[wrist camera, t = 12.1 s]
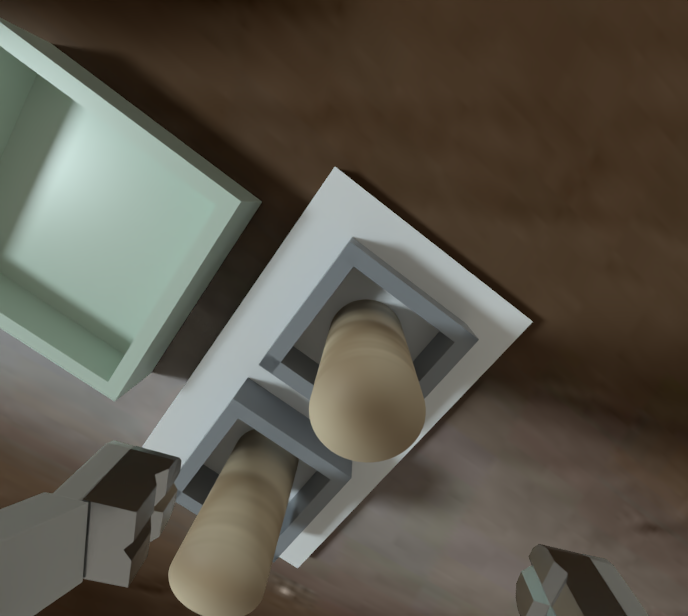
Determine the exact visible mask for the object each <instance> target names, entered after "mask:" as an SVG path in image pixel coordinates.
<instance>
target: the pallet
mask: <svg viewBox="0 0 688 616" xmlns="http://www.w3.org/2000/svg"><path fill="white" fill-rule="evenodd" d="M365 299H368V300H375V301H378V302H381V303H383V304H385V305H386V306H388V307H389V308H390V309H392V310H393V311H394V313H395V314H396V315H397V317H398V318H399V321H400V323H401V326H402V329H403V333H404V336H405V339H406V342H407V345H408V349H409V352H410V355H411V358H412V361H413V365H414V368H415V371H416V374H417V377H418V381H419V384H420V387H421V390H422V394H423V397H424V400H425V406H426V416H425V422H424V425H423V429H422V431H421V433H420V435H419V436H418V438H417V439H416V441H415V442H414V443H413V444H412V445H411V446H410V447H409V448H408V449H407V450H405V451H404V452H402V453H401V454H399V455H397V456H395V457H393V458H391V459H388V460H384V461H380V462H367V463H365V462H357V461H352V460H349V459H346V458H343V457H341V456H339V455H337V454H335V453H334V452H332V451H331V450H329V449H328V448H327V447H326V446H325V445H324V444H323V443H322V442H321V441H320V440H319V438H318V437H317V436H316V434H315V432H314V430H313V428H312V425H311V422H310V417H309V402H310V398H311V394H312V390H313V387H314V383H315V379H316V376H317V372H318V368H319V365H320V361H321V358H322V354H323V350H324V347H325V343H326V339H327V336H328V332H329V329H330V325H331V322H332V320H333V318H334V316H335V315H336V313H337V312H338V311H339V310H340V309H341V308H342V307H344V306H345V305H347V304H349V303H351V302H353V301H357V300H365ZM532 322H533V321H531V320H530V319H529V318H528V317H526V316H525V315H524V314H522V313H521V312H520V311H519V310H517V309H516V308H515V307H514V306H512V305H511V304H510V303H508V302H507V301H506V300H505V299H503V298H502V297H501V296H500V295H498V294H497V293H496V292H494V291H493V290H492V289H491V288H489V287H488V286H487V285H486V284H484V283H483V282H482V281H480V280H479V279H478V278H477V277H475V276H474V275H473V274H471V273H470V272H469V271H468V270H466V269H465V268H464V267H463V266H461V265H460V264H459V263H457V262H456V261H455V260H454V259H452V258H451V257H450V256H449V255H447V254H446V253H445V252H443V251H442V250H441V249H440V248H438V247H437V246H436V245H435V244H433V243H432V242H431V241H429V240H428V239H427V238H426V237H424V236H423V235H422V234H420V233H419V232H418V231H417V230H415V229H414V228H413V227H412V226H410V225H409V224H408V223H406V222H405V221H404V220H403V219H401V218H400V217H399V216H398V215H396V214H395V213H394V212H392V211H391V210H390V209H389V208H387V207H386V206H385V205H384V204H382V203H381V202H380V201H378V200H377V199H376V198H375V197H373V196H372V195H371V194H369V193H368V192H367V191H366V190H364V189H363V188H362V187H361V186H359V185H358V184H357V183H355V182H354V181H353V180H352V179H350V178H349V177H348V176H347V175H345V174H344V173H343V172H341V171H340V170H339V169H338V168H336V167H334V169H333V170H332V172H331V173H330V175H329V176H328V177H327V179H326V180H325V182H324V183H323V185H322V186H321V188H320V189H319V191H318V192H317V193H316V195H315V196H314V198H313V199H312V201H311V202H310V204H309V205H308V207H307V208H306V209H305V211H304V212H303V214H302V215H301V217H300V218H299V220H298V221H297V223H296V224H295V225H294V227H293V228H292V230H291V231H290V233H289V234H288V236H287V237H286V239H285V240H284V241H283V243H282V244H281V246H280V247H279V249H278V250H277V252H276V253H275V255H274V256H273V257H272V259H271V260H270V262H269V263H268V265H267V266H266V268H265V269H264V270H263V272H262V273H261V275H260V276H259V278H258V279H257V281H256V282H255V284H254V285H253V286H252V288H251V289H250V291H249V292H248V294H247V295H246V297H245V298H244V300H243V301H242V302H241V304H240V305H239V307H238V308H237V310H236V311H235V313H234V314H233V316H232V317H231V318H230V320H229V321H228V323H227V324H226V326H225V327H224V329H223V330H222V332H221V333H220V334H219V336H218V337H217V339H216V340H215V342H214V343H213V345H212V346H211V348H210V349H209V350H208V352H207V353H206V355H205V356H204V358H203V359H202V361H201V362H200V364H199V365H198V366H197V368H196V369H195V371H194V372H193V374H192V375H191V377H190V378H189V380H188V381H187V382H186V384H185V385H184V387H183V388H182V390H181V391H180V393H179V394H178V396H177V397H176V398H175V400H174V401H173V403H172V404H171V406H170V407H169V409H168V410H167V412H166V413H165V414H164V416H163V417H162V419H161V420H160V422H159V423H158V425H157V426H156V427H155V429H154V430H153V432H152V433H151V435H150V436H149V438H148V439H147V441H146V442H145V443H144V445H143V446H142V448H146V449H149V450H153V451H157V452H161V453H164V454H168V455H172V456H176V457H179V458H180V459H181V460H182V461H181V469H180V474H179V475H178V477H177V478H176V480H175V481H174V484H175V486H176V488H177V489H178V490H177V496H176V501H175V502H177V503H179V504H180V505H182V506H183V507H185V508H187V509H188V510H190V511H191V512H193V513H195V514H196V515H198V513H199V511H200V510H201V508H202V506H203V504H204V502H205V500H206V499H207V497H208V495H209V493H210V491H211V489H212V487H213V486H214V484H215V482H216V480H217V478H218V476H219V475H220V473H221V471H222V469H223V467H224V465H225V464H226V462H227V460H228V458H229V456H230V454H231V453H232V451H233V449H234V447H235V445H236V443H237V442H238V440H239V439H240V438H241V436H243V435H244V434H245V433H247V432H248V431H251V430H254V429H255V430H257V431H258V432H260V433H261V434H263V435H264V436H266V437H267V438H269V439H270V440H272V441H273V442H275V443H276V444H278V445H279V446H281V447H282V448H284V449H285V450H287V451H288V452H290V453H291V454H293V455H294V456H296V457H297V458H299V462H298V467H297V471H296V474H295V478H294V482H293V486H292V489H291V493H290V497H289V501H288V505H287V508H286V512H285V516H284V520H283V523H282V527H281V531H280V535H279V539H278V542H277V546H276V550H275V554H274V558H273V561H272V562H275V561H276V559H277V558H278V557H280V558H282V559H284V560H285V561H287V562H288V563H290V564H292V565H293V566H295V567H296V568H298V567H299V566H300V565H301V564H302V563H303V562H304V561H305V560H306V559H307V558H308V557H309V556H310V555H311V554H312V553H313V552H314V551H315V549H316V548H317V547H318V546H319V545H320V544H321V543H322V542H323V541H324V540H325V539H326V538H327V537H328V536H329V535H330V534H331V533H332V532H333V531H334V530H335V529H336V527H337V526H338V525H339V524H340V523H341V522H342V521H343V520H344V519H345V518H346V517H347V516H348V515H349V514H350V513H351V512H352V511H353V510H354V509H355V508H356V507H357V505H358V504H359V503H360V502H361V501H362V500H363V499H364V498H365V497H366V496H367V495H368V494H369V493H370V492H371V491H372V490H373V489H374V488H375V487H376V486H377V485H378V483H379V482H380V481H381V480H382V479H383V478H384V477H385V476H386V475H387V474H388V473H389V472H390V471H391V470H392V469H393V468H394V467H395V466H396V465H397V464H398V463H399V461H400V460H401V459H402V458H403V457H404V456H405V455H406V454H407V453H408V452H409V451H410V450H411V449H412V448H413V447H414V446H415V445H416V444H417V443H418V442H419V441H420V439H421V438H422V437H423V436H424V435H425V434H426V433H427V432H428V431H429V430H430V429H431V428H432V427H433V426H434V425H435V424H436V423H437V422H438V421H439V420H440V419H441V417H442V416H443V415H444V414H445V413H446V412H447V411H448V410H449V409H450V408H451V407H452V406H453V405H454V404H455V403H456V402H457V401H458V400H459V399H460V398H461V397H462V395H463V394H464V393H465V392H466V391H467V390H468V389H469V388H470V387H471V386H472V385H473V384H474V383H475V382H476V381H477V380H478V379H479V378H480V377H481V376H482V375H483V373H484V372H485V371H486V370H487V369H488V368H489V367H490V366H491V365H492V364H493V363H494V362H495V361H496V360H497V359H498V358H499V357H500V356H501V355H502V354H503V352H504V351H505V350H506V349H507V348H508V347H509V346H510V345H511V344H512V343H513V342H514V341H515V340H516V339H517V338H518V337H519V336H520V335H521V334H522V333H523V332H524V330H525V329H526V328H527V327H528V326H529V325H530V324H531V323H532Z"/></svg>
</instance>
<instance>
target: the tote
mask: <svg viewBox="0 0 688 616" xmlns="http://www.w3.org/2000/svg"><path fill="white" fill-rule="evenodd" d="M261 203H262V201H260V200H259V199H258V198H256V197H255V196H254V195H252V194H251V193H250V192H248V191H247V190H246V189H244V188H243V187H242V186H240V185H239V184H238V183H237V182H235V181H234V180H233V179H231V178H230V177H229V176H227V175H226V174H225V173H223V172H222V171H221V170H219V169H218V168H217V167H215V166H214V165H213V164H211V163H210V162H209V161H207V160H206V159H205V158H203V157H202V156H201V155H199V154H198V153H197V152H195V151H194V150H193V149H191V148H190V147H189V146H187V145H186V144H185V143H183V142H182V141H181V140H179V139H178V138H177V137H175V136H174V135H173V134H171V133H170V132H169V131H167V130H166V129H165V128H163V127H162V126H161V125H159V124H158V123H157V122H155V121H154V120H153V119H151V118H150V117H149V116H147V115H146V114H145V113H143V112H142V111H141V110H139V109H138V108H137V107H135V106H134V105H133V104H131V103H130V102H129V101H127V100H126V99H125V98H123V97H122V96H121V95H119V94H118V93H117V92H115V91H114V90H113V89H111V88H110V87H109V86H107V85H106V84H105V83H103V82H102V81H101V80H99V79H98V78H97V77H95V76H94V75H93V74H91V73H90V72H89V71H87V70H86V69H85V68H83V67H82V66H81V65H79V64H78V63H77V62H75V61H74V60H73V59H71V58H70V57H69V56H67V55H66V54H65V53H63V52H62V51H61V50H59V49H58V48H57V47H55V46H54V45H53V44H51V43H49V42H47V41H45V40H43V39H41V38H39V37H37V36H35V35H33V34H31V33H30V32H28V31H26V30H24V29H22V28H20V27H18V26H16V25H14V24H12V23H10V22H8V21H6V20H4V19H2V18H0V328H1V329H2V330H4V331H5V332H7V333H8V334H10V335H11V336H13V337H15V338H16V339H18V340H19V341H21V342H22V343H24V344H26V345H27V346H29V347H30V348H32V349H33V350H35V351H36V352H38V353H40V354H41V355H43V356H44V357H46V358H47V359H49V360H51V361H52V362H54V363H55V364H57V365H58V366H60V367H61V368H63V369H65V370H66V371H68V372H69V373H71V374H72V375H74V376H75V377H77V378H79V379H80V380H82V381H83V382H85V383H86V384H88V385H90V386H91V387H93V388H94V389H96V390H97V391H99V392H100V393H102V394H104V395H105V396H107V397H108V398H110V399H111V400H113V401H114V402H115V401H116V400H117V399H119V398H120V397H121V396H122V395H124V394H125V393H126V392H127V391H129V390H130V389H131V388H132V387H134V386H135V385H136V384H138V383H139V382H140V381H141V380H143V379H144V378H145V377H146V376H148V375H149V374H150V373H151V372H152V371H153V369H154V368H155V366H156V365H157V363H158V362H159V360H160V358H161V357H162V355H163V354H164V352H165V351H166V349H167V348H168V346H169V345H170V343H171V342H172V340H173V338H174V337H175V335H176V334H177V332H178V331H179V329H180V328H181V326H182V325H183V323H184V322H185V320H186V318H187V317H188V315H189V314H190V312H191V311H192V309H193V308H194V306H195V305H196V303H197V302H198V300H199V298H200V297H201V295H202V294H203V292H204V291H205V289H206V288H207V286H208V285H209V283H210V282H211V280H212V278H213V277H214V275H215V274H216V272H217V271H218V269H219V268H220V266H221V265H222V263H223V261H224V260H225V258H226V257H227V255H228V254H229V252H230V251H231V249H232V248H233V246H234V245H235V243H236V241H237V240H238V238H239V237H240V235H241V234H242V232H243V231H244V229H245V228H246V226H247V225H248V223H249V221H250V220H251V218H252V217H253V215H254V214H255V212H256V211H257V209H258V208H259V206H260V205H261Z"/></svg>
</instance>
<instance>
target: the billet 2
mask: <svg viewBox="0 0 688 616" xmlns="http://www.w3.org/2000/svg"><path fill="white" fill-rule="evenodd" d="M425 416H426V406H425V400H424V397H423V394H422V390H421V387H420V384H419V381H418V377H417V374H416V371H415V368H414V365H413V361H412V358H411V355H410V352H409V349H408V345H407V342H406V339H405V336H404V333H403V329H402V326H401V323H400V321H399V318H398V317H397V315H396V314H395V313H394V311H393V310H392V309H390V308H389V307H388V306H386V305H385V304H383V303H381V302H378V301H375V300H368V299H365V300H357V301H353V302H351V303H349V304H347V305H345V306H344V307H342V308H341V309H340V310H339V311H338V312H337V313H336V315H335V316H334V318H333V320H332V322H331V325H330V329H329V332H328V336H327V339H326V343H325V347H324V350H323V354H322V358H321V361H320V365H319V368H318V372H317V376H316V379H315V383H314V387H313V390H312V394H311V398H310V402H309V417H310V422H311V425H312V428H313V430H314V432H315V434H316V436H317V437H318V438H319V440H320V441H321V442H322V443H323V444H324V445H325V446H326V447H327V448H328V449H329V450H331V451H332V452H334V453H335V454H337V455H339V456H341V457H343V458H346V459H349V460H352V461H357V462H365V463H367V462H380V461H384V460H388V459H391V458H393V457H395V456H397V455H399V454H401V453H402V452H404V451H405V450H407V449H408V448H409V447H410V446H411V445H412V444H413V443H414V442H415V441H416V439H417V438H418V436H419V435H420V433H421V431H422V429H423V425H424V422H425Z"/></svg>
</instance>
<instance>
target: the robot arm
mask: <svg viewBox="0 0 688 616" xmlns="http://www.w3.org/2000/svg"><path fill="white" fill-rule="evenodd" d="M181 461H182V460H181V459H180V458H179V457H176V456H172V455H168V454H164V453H161V452H157V451H153V450H149V449H146V448H142V447H138V446H132V445H129V444H125V443H121V442H118V441H111V442H109V443H107V444H105V445H104V446H103V447H102V448H101V449H100V450H99V451H98V452H97V453H96V454H95V455H94V456H93V457H91V458H90V459H89V460H88V461H87V462H86V463H85V464H84V465H83V466H82V467H81V468H80V469H79V470H77V471H76V472H75V473H74V474H73V475H72V476H71V477H70V478H69V479H68V480H67V481H66V482H65V483H64V484H62V485H61V486H60V487H59V488H58V489H57V490H56V491H55V492H54V493H53V494H51V493H46V492H44V493H42V494H39V495H36V496H34V497H31V498H29V499H26V500H23V501H21V502H18V503H16V504H13V505H10V506H8V507H5V508H3V509H0V616H34V615H35V614H37V613H38V612H40V611H41V610H43V609H44V608H45V607H47V606H48V605H50V604H51V603H53V602H54V601H56V600H57V599H58V598H60V597H61V596H63V595H64V594H66V593H67V592H69V591H70V590H71V589H73V588H74V587H76V586H77V585H79V584H80V583H82V581H83V579H87V580H92V581H97V582H102V583H107V584H112V585H117V586H123V587H129V585H130V584H131V582H132V580H133V579H134V577H135V575H136V574H137V572H138V571H139V569H140V567H141V566H142V564H143V562H144V561H145V559H146V558H147V556H148V549H149V542H151V541H153V540H154V539H156V538H158V537H159V536H160V535H161V533H162V531H163V530H164V528H165V526H166V524H167V522H168V520H169V518H170V515H171V513H172V511H173V508H174V504H175V501H176V496H177V490H178V489H177V488H176V486H175V484H174V481H175V480H176V478H177V477H178V475H179V474H180V469H181ZM529 559H530V562H531V565H532V566H530V567H528V568H527V569H525V570H523V571H522V572H521V574H520V576H519V578H518V581H517V583H516V602H517V607H518V611H519V614H520V616H649V615H648V614H647V612H646V611H645V609H644V608H643V607H642V605H641V604H640V602H639V601H638V599H637V598H636V597H635V595H634V594H633V592H632V591H631V589H630V588H629V587H628V585H627V584H626V582H625V581H624V579H623V578H622V577H621V575H620V574H619V572H618V571H617V569H616V568H615V567H614V565H613V564H611V563H610V562H609V561H608V560H606V559H604V558H600V557H595V556H590V555H586V554H579V553H576V552H571V551H567V550H563V549H558V548H554V547H550V546H545V545H541V544H538V545H537V546H535V547H534V548H533V549H532V551H531V553H530V555H529Z"/></svg>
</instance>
